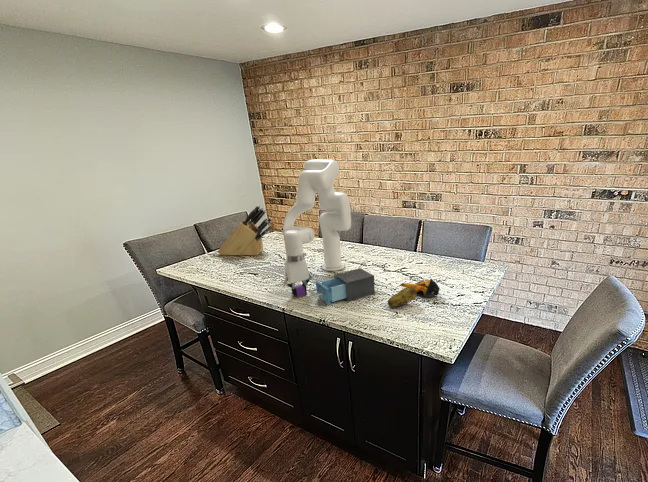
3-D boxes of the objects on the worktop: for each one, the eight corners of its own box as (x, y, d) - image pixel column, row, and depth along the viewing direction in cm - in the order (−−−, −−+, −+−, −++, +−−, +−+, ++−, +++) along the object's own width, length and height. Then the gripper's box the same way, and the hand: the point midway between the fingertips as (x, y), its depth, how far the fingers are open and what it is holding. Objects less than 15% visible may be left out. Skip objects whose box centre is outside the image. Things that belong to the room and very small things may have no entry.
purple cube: (294, 294, 160) (293, 286, 159) (302, 292, 162) (301, 284, 161) (297, 297, 157) (296, 289, 156) (305, 294, 159) (304, 287, 158)
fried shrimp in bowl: (439, 293, 148) (401, 278, 149) (432, 307, 156) (396, 293, 158) (444, 278, 154) (407, 264, 155) (437, 293, 162) (402, 279, 164)
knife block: (272, 255, 216) (264, 207, 204) (217, 256, 217) (207, 207, 205) (277, 250, 227) (270, 203, 214) (225, 250, 227) (216, 204, 215)
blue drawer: (318, 307, 145) (316, 292, 142) (307, 298, 154) (305, 283, 151) (354, 296, 154) (353, 282, 152) (342, 288, 163) (341, 274, 160)
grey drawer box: (347, 301, 152) (346, 282, 149) (335, 292, 162) (333, 274, 158) (374, 293, 160) (374, 275, 156) (360, 285, 169) (360, 268, 166)
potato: (386, 301, 151) (386, 285, 148) (415, 300, 152) (415, 284, 149) (388, 310, 144) (387, 293, 141) (417, 309, 144) (418, 292, 141)
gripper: (309, 252, 160) (312, 287, 167) (274, 259, 151) (279, 296, 158) (315, 256, 154) (319, 292, 161) (279, 263, 146) (285, 301, 153)
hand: (299, 293), depth 160 cm, fingers closed on purple cube, 4 cm apart
